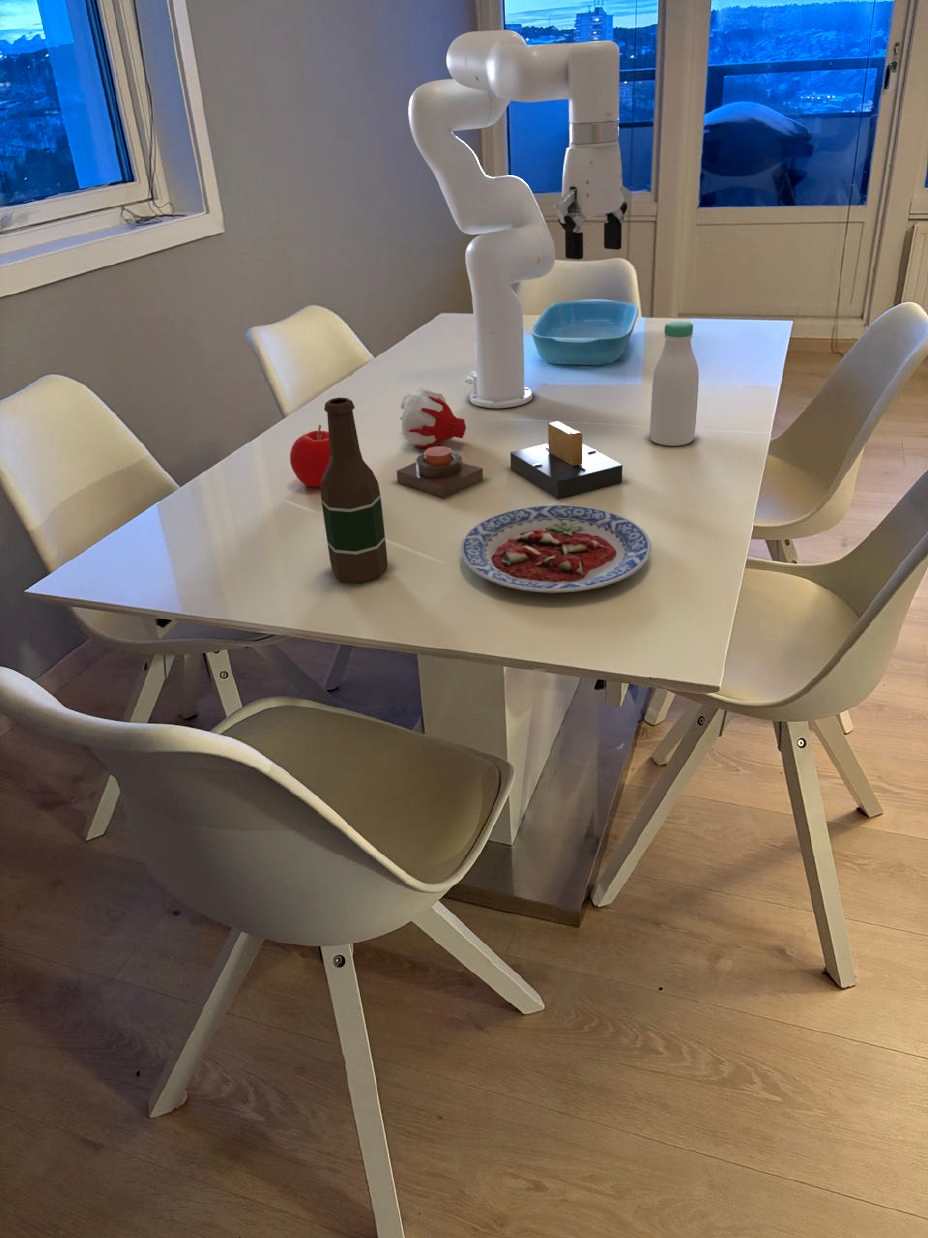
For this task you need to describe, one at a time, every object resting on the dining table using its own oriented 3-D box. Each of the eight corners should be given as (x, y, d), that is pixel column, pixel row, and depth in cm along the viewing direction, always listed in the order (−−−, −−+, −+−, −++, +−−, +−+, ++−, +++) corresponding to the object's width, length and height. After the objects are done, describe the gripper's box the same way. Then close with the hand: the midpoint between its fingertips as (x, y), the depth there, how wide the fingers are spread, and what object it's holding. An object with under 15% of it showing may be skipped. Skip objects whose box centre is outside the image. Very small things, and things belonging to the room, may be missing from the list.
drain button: (419, 462, 153) (418, 452, 152) (438, 454, 156) (437, 444, 155) (438, 468, 150) (438, 458, 149) (457, 459, 153) (457, 449, 152)
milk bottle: (694, 447, 162) (703, 329, 151) (648, 446, 163) (654, 329, 153) (694, 431, 168) (702, 317, 158) (650, 430, 170) (656, 317, 159)
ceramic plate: (601, 624, 114) (601, 602, 112) (425, 578, 126) (423, 558, 125) (679, 538, 132) (680, 519, 131) (518, 506, 145) (518, 488, 143)
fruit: (333, 496, 152) (325, 437, 147) (284, 491, 155) (275, 432, 150) (358, 474, 159) (351, 417, 154) (311, 470, 162) (302, 414, 157)
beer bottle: (332, 560, 133) (308, 393, 120) (388, 555, 133) (369, 388, 120) (330, 586, 126) (305, 413, 114) (388, 581, 126) (369, 407, 114)
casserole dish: (626, 372, 201) (627, 338, 197) (523, 370, 206) (522, 337, 202) (641, 328, 231) (643, 298, 227) (551, 327, 236) (551, 298, 233)
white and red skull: (407, 425, 178) (479, 443, 173) (377, 445, 169) (453, 464, 164) (408, 379, 173) (483, 395, 168) (378, 397, 164) (456, 415, 159)
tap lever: (548, 452, 155) (548, 421, 153) (557, 449, 156) (557, 419, 153) (572, 466, 149) (573, 434, 147) (582, 463, 150) (582, 432, 147)
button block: (397, 482, 155) (395, 460, 153) (435, 466, 161) (434, 443, 159) (445, 498, 149) (443, 475, 147) (483, 480, 154) (482, 457, 152)
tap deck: (510, 469, 158) (510, 451, 156) (571, 454, 162) (571, 436, 161) (557, 499, 146) (557, 480, 145) (622, 482, 151) (622, 463, 149)
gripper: (609, 130, 152) (608, 243, 160) (537, 140, 142) (540, 260, 150) (647, 129, 147) (645, 246, 155) (576, 140, 137) (577, 264, 145)
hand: (593, 253), depth 153 cm, fingers open, 9 cm apart
